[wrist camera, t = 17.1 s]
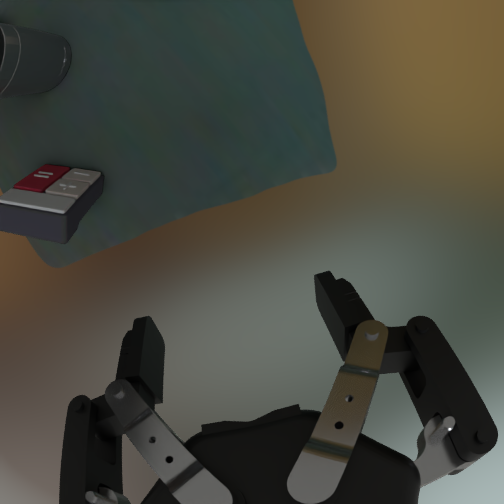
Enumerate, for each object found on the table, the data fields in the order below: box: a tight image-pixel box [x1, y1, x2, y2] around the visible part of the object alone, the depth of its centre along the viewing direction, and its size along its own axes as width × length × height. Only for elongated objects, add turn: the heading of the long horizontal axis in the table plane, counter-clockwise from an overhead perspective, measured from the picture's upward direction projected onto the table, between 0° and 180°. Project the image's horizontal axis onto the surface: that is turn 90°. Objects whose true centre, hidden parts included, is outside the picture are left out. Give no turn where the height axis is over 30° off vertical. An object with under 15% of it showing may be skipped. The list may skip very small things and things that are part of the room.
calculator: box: [0, 164, 104, 244], centre depth 32 cm, size 11×4×15 cm, turn 73°
